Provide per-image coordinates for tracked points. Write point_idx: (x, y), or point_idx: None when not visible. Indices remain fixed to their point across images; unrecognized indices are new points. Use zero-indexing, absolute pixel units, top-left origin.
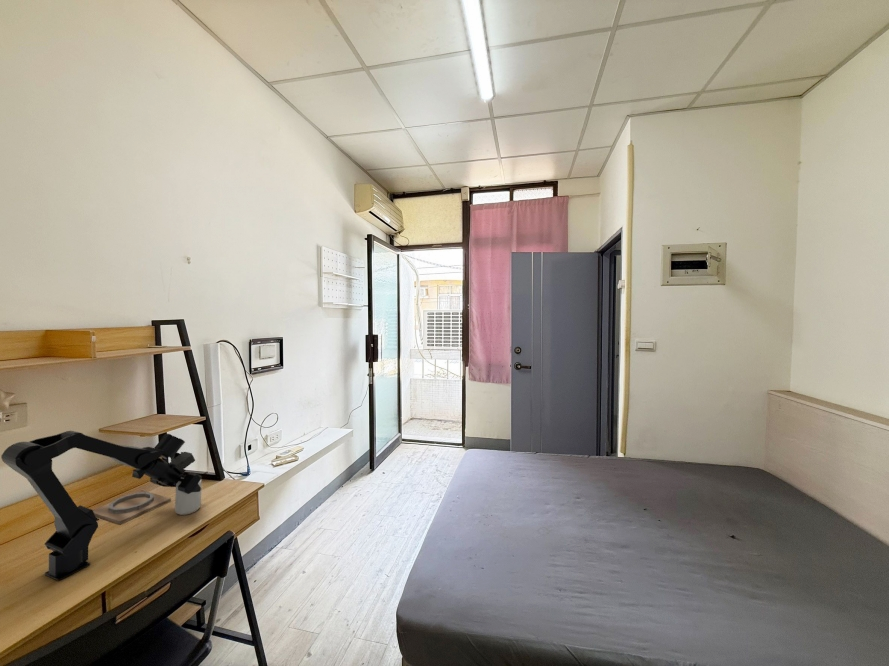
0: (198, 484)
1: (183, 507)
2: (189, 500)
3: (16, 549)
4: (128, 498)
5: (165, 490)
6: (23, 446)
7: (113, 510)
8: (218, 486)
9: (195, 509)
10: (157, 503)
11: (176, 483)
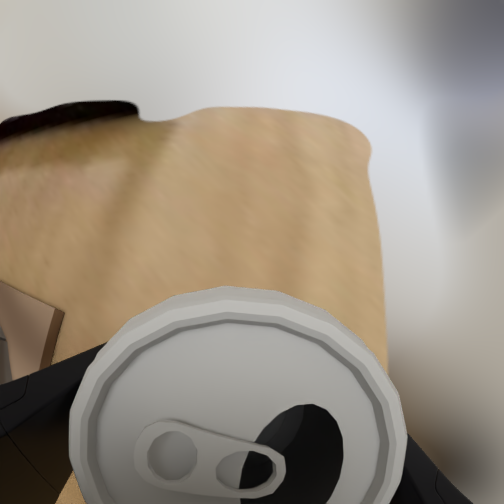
0: (434, 464)
1: (264, 478)
2: (304, 472)
3: None
4: None
5: (6, 223)
6: None
7: None
8: (204, 149)
9: (303, 419)
10: (32, 366)
11: (68, 444)
